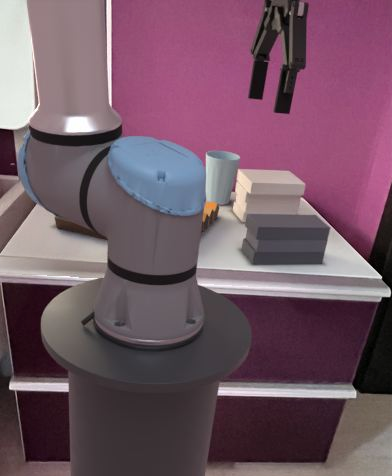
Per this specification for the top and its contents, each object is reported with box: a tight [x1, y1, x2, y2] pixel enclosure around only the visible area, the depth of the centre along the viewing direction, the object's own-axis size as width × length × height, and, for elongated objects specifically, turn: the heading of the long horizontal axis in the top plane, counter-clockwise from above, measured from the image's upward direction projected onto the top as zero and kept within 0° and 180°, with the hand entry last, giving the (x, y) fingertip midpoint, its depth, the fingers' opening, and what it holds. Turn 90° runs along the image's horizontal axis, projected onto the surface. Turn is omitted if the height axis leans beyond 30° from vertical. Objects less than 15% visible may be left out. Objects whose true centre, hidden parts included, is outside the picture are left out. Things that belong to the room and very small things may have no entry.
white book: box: [236, 168, 307, 196], centre depth 120 cm, size 12×10×2 cm
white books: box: [232, 181, 302, 223], centre depth 122 cm, size 13×7×7 cm, turn 104°
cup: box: [205, 150, 241, 206], centre depth 127 cm, size 8×8×10 cm
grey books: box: [241, 214, 331, 265], centre depth 104 cm, size 14×6×7 cm, turn 104°
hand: (267, 105), depth 102 cm, fingers open, 13 cm apart
